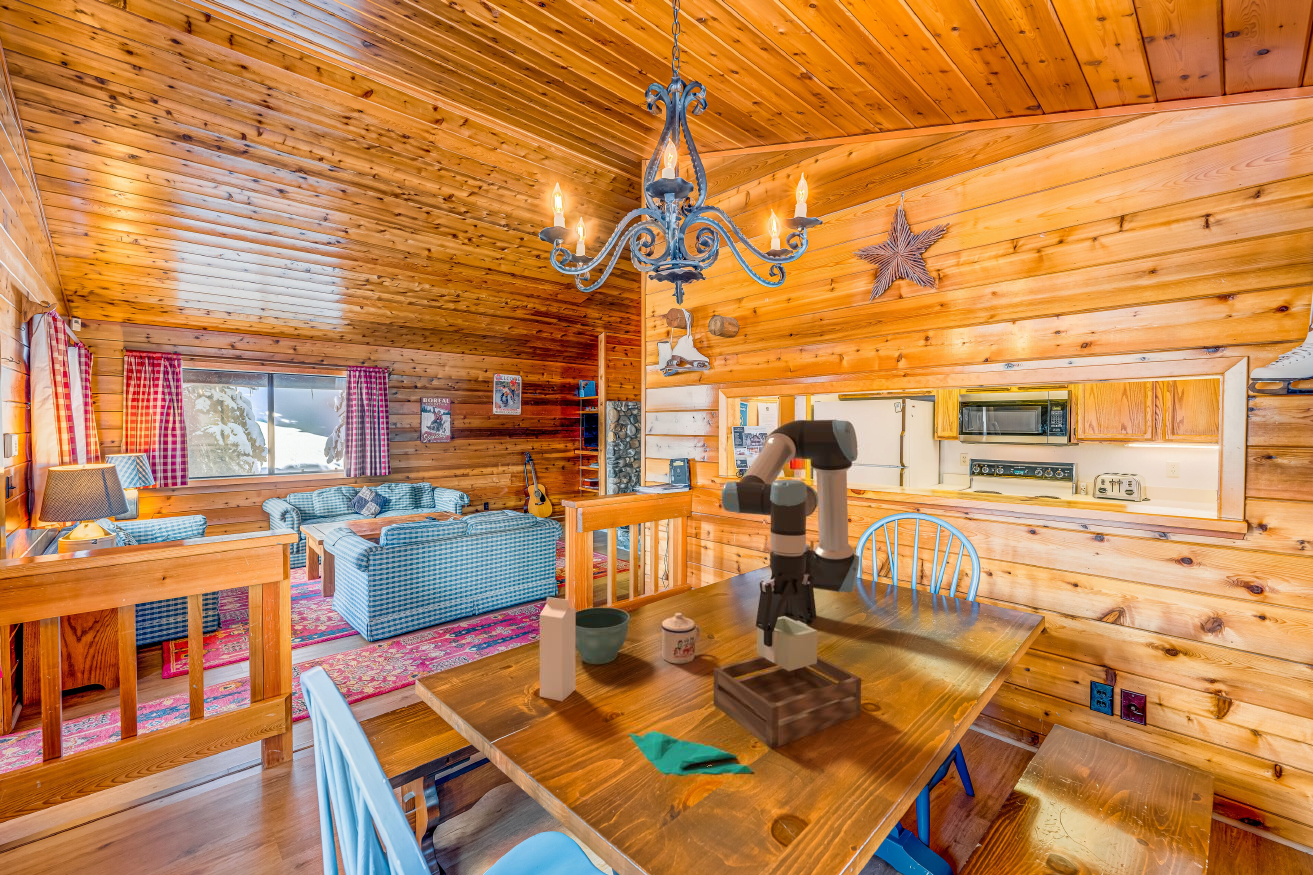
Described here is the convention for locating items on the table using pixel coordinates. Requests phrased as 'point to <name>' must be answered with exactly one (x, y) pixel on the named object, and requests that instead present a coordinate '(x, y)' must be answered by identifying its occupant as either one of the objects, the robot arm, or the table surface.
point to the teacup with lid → (679, 639)
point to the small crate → (791, 644)
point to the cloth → (684, 756)
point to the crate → (786, 698)
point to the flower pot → (600, 633)
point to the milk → (557, 649)
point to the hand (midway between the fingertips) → (786, 655)
